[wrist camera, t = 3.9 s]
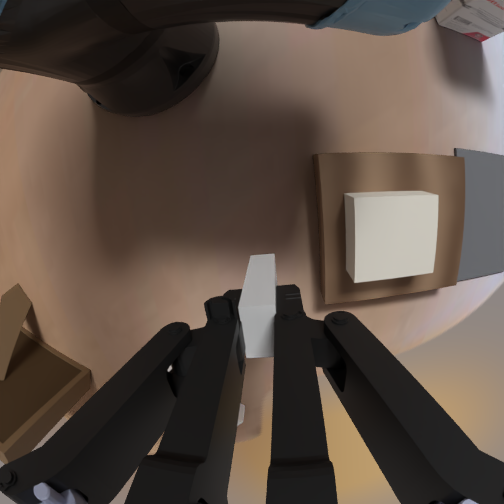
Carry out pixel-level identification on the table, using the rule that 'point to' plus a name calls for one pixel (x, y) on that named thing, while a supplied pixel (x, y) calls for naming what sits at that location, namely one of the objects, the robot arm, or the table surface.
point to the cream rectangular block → (390, 234)
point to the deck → (382, 180)
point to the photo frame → (31, 381)
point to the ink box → (474, 17)
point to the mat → (482, 214)
